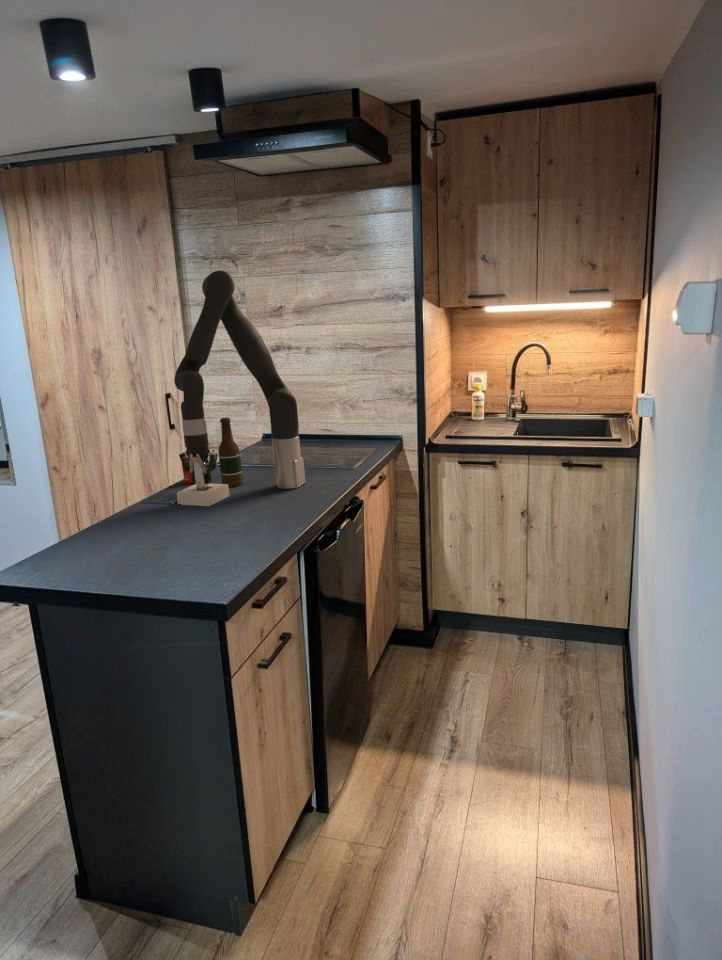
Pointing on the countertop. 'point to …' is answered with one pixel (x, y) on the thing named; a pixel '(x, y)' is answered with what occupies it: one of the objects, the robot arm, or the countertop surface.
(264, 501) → the countertop surface
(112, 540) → the countertop surface
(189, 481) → the canned food
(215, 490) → the socket block
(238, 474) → the beer bottle
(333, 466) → the countertop surface
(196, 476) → the plug
